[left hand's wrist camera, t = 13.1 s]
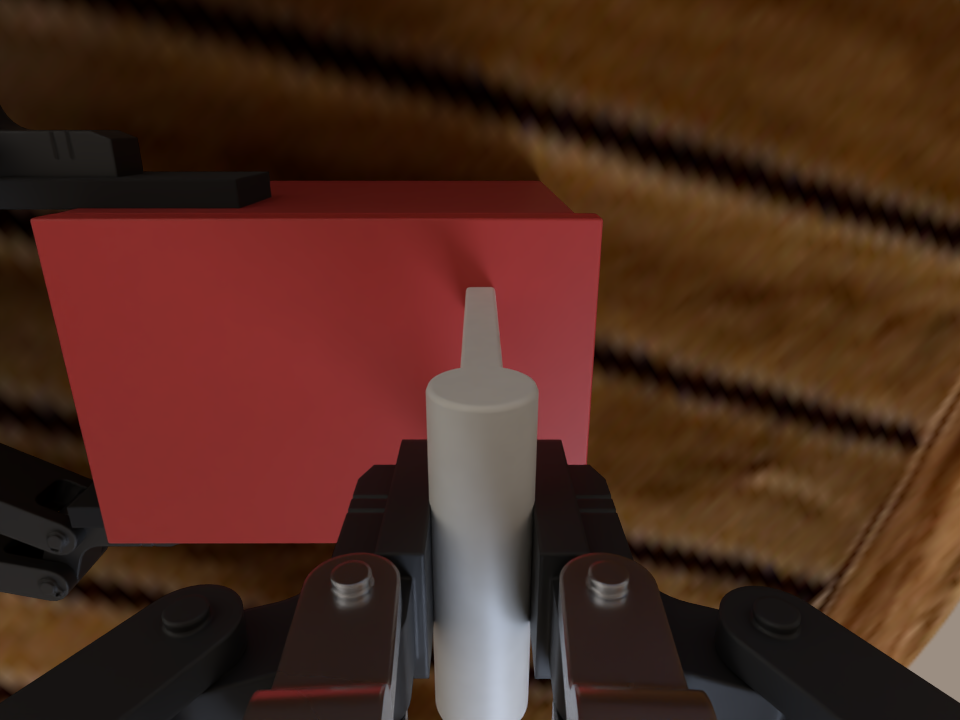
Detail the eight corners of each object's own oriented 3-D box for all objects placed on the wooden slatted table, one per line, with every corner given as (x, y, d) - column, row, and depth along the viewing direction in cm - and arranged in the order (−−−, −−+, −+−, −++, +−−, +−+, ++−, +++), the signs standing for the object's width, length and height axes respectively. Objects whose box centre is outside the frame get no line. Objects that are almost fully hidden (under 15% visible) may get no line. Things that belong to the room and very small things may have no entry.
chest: (541, 180, 24) (575, 212, 16) (534, 397, 28) (559, 524, 19) (205, 180, 24) (53, 213, 16) (236, 397, 28) (124, 525, 19)
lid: (596, 212, 16) (711, 300, 8) (577, 525, 19) (645, 803, 11) (52, 213, 16) (-361, 300, 8) (123, 525, 19) (-122, 804, 11)
